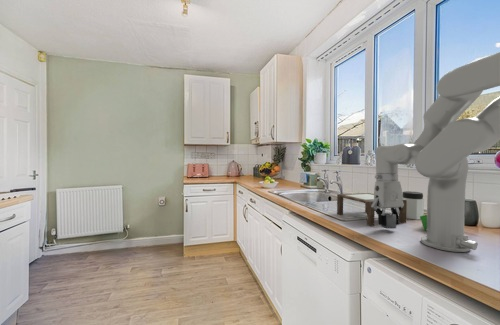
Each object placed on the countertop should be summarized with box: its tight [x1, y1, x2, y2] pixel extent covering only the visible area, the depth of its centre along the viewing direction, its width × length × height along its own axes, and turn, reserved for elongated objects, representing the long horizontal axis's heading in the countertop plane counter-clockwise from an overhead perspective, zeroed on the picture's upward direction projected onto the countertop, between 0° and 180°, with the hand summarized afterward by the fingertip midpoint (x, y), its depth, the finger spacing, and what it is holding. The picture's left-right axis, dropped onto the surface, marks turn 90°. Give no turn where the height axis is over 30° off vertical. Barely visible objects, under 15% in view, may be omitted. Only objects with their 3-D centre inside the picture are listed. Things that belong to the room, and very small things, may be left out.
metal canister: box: [380, 212, 397, 229], centre depth 96 cm, size 5×5×5 cm
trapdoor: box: [346, 193, 374, 201], centre depth 115 cm, size 17×14×2 cm
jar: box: [402, 190, 425, 221], centre depth 117 cm, size 9×8×12 cm
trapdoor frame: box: [336, 192, 407, 227], centre depth 115 cm, size 22×19×10 cm
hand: (388, 224), depth 96 cm, fingers closed on metal canister, 5 cm apart
